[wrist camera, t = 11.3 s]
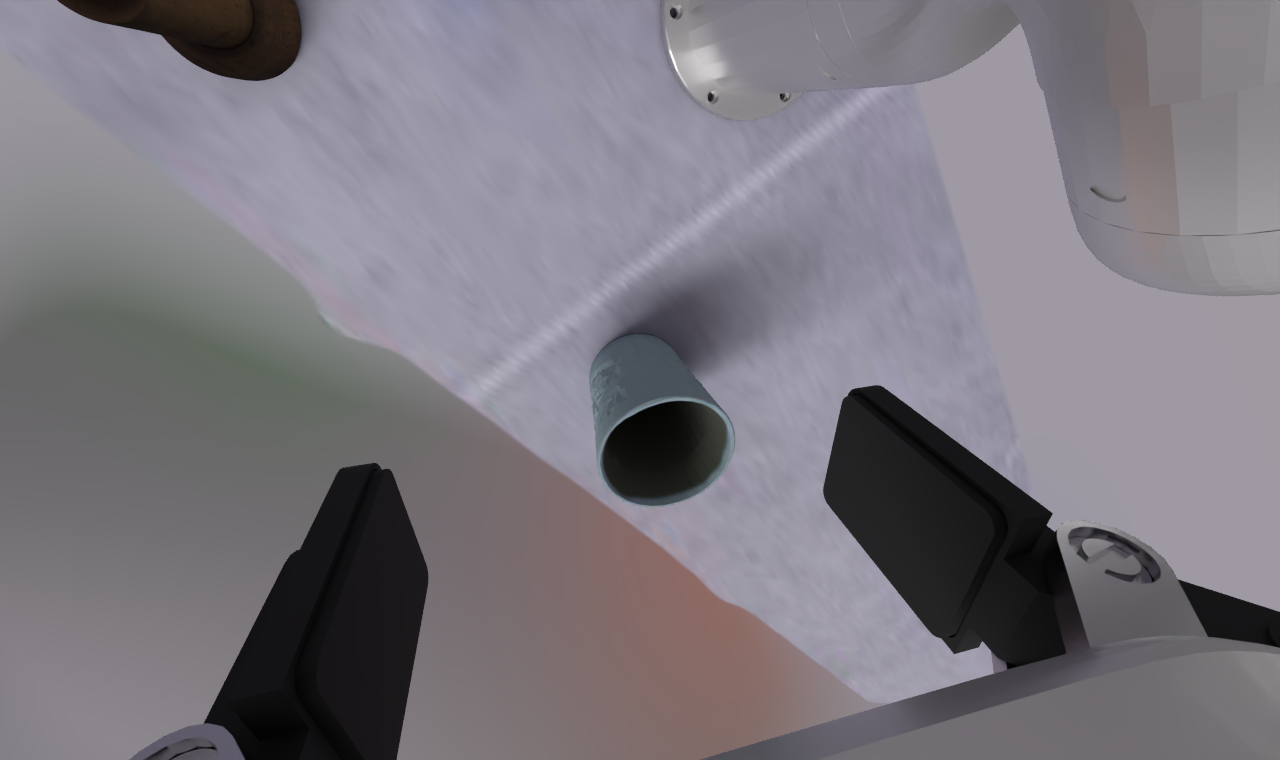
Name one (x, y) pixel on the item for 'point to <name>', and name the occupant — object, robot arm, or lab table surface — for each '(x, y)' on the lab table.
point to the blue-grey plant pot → (655, 424)
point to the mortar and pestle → (212, 31)
